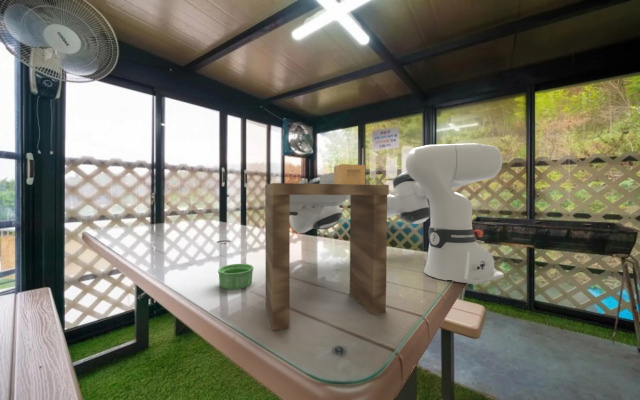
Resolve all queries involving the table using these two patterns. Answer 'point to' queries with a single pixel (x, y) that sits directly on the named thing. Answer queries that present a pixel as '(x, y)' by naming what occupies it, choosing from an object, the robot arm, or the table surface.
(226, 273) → the ramekin
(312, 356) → the table surface
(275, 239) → the shelf
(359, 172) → the recessed wooden block
